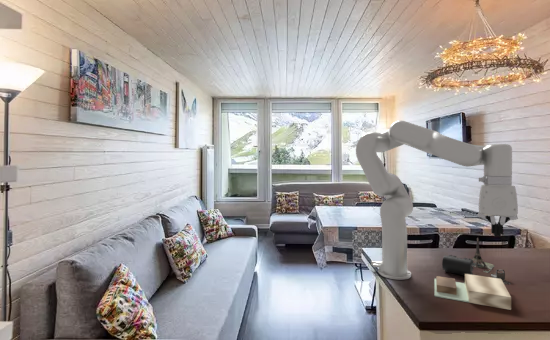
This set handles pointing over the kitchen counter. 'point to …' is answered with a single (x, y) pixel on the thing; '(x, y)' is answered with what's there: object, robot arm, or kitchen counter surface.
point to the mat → (460, 294)
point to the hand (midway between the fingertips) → (497, 235)
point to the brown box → (446, 285)
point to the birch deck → (487, 291)
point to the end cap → (457, 265)
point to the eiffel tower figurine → (481, 260)
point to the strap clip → (500, 276)
